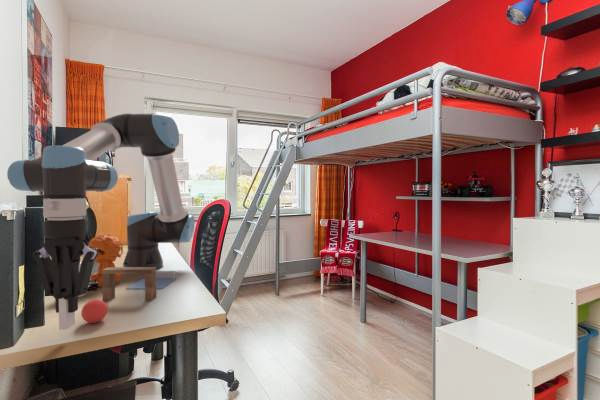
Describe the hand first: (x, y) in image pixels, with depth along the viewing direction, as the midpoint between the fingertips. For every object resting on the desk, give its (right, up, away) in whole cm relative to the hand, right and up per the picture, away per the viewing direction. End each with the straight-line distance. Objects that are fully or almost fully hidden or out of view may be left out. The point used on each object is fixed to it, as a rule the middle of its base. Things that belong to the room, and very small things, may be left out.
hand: (67, 326), depth 70 cm
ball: (0, 0, +10) cm, 10 cm away
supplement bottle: (-19, -2, +29) cm, 35 cm away
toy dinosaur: (-17, -2, +41) cm, 45 cm away
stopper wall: (-1, -2, +49) cm, 49 cm away
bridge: (-1, -2, +27) cm, 27 cm away
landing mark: (-1, -2, +42) cm, 42 cm away
